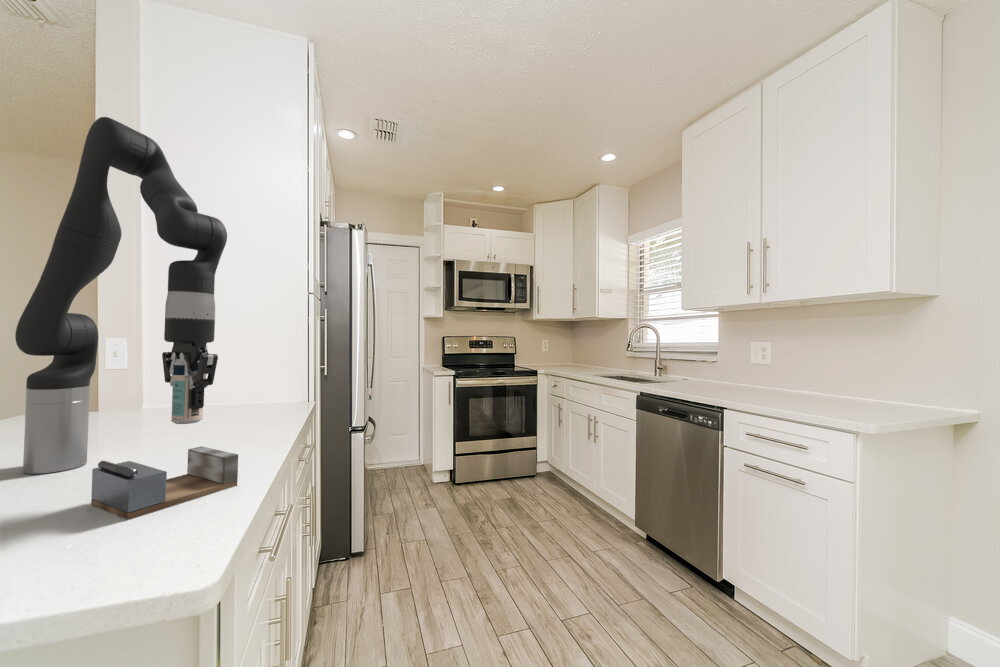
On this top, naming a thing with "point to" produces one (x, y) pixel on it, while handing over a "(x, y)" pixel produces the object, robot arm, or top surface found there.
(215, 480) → the vise base
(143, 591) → the top surface
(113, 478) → the box
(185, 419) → the beer can
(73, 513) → the top surface
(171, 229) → the robot arm
